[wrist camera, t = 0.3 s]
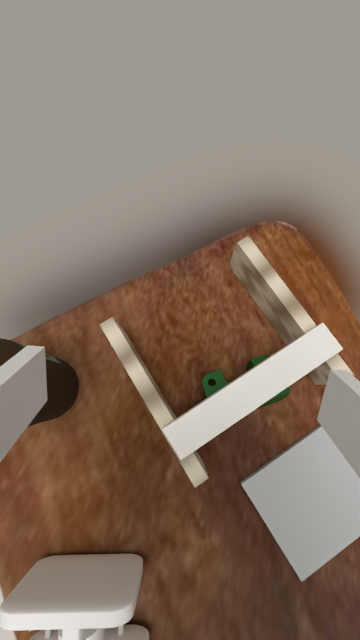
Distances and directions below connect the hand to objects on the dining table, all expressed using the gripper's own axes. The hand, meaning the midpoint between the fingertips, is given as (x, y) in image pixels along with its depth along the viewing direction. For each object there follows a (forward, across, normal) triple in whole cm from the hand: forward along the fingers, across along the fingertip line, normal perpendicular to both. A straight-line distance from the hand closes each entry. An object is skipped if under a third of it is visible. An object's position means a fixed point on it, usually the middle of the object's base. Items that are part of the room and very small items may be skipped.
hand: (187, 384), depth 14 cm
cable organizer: (+15, +8, +42) cm, 45 cm away
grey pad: (+21, -21, +28) cm, 41 cm away
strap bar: (+22, -10, +12) cm, 27 cm away
